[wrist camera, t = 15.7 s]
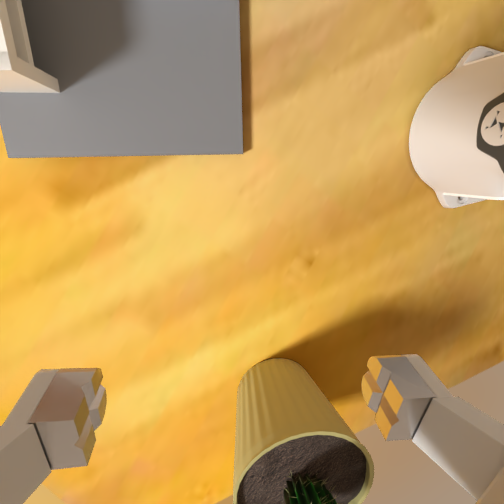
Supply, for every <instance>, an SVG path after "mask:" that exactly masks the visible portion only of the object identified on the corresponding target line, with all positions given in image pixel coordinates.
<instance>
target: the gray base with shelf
mask: <svg viewBox="0 0 504 504" xmlns="http://www.w3.org/2000/svg"><path fill="white" fill-rule="evenodd" d="M0 125H1V129H2V133H3V137H4V141H5V146H6V150H7V154H8V158H41V157H98V156H154V155H211V154H243V128H242V90H241V52H240V14H239V0H0Z"/></svg>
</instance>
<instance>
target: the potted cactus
mask: <svg viewBox="0 0 504 504" xmlns="http://www.w3.org/2000/svg"><path fill="white" fill-rule="evenodd" d="M373 478H374V465H373V461H372V458H371V456H370V454H369V452H368V451H367V450H366V448H365V447H364V446H363V445H362V444H361V443H360V442H359V440H358V439H357V437H356V436H355V435H354V433H353V432H352V431H351V429H350V428H349V427H348V426H347V424H346V423H345V422H344V420H343V419H342V418H341V416H340V415H339V414H338V412H337V411H336V410H335V408H334V407H333V406H332V404H331V403H330V402H329V400H328V399H327V398H326V397H325V395H324V394H323V393H322V391H321V390H320V389H319V387H318V386H317V385H316V383H315V382H314V381H313V379H312V378H311V377H310V375H309V374H308V373H307V371H306V370H305V369H304V368H303V367H302V366H301V365H300V364H298V363H297V362H295V361H292V360H289V359H285V358H273V359H268V360H265V361H262V362H260V363H258V364H256V365H255V366H253V367H252V368H251V369H249V370H248V371H247V372H246V374H245V375H244V376H243V378H242V379H241V381H240V384H239V387H238V391H237V413H236V437H235V461H234V485H233V504H362V503H363V501H364V499H365V498H366V496H367V495H368V493H369V490H370V488H371V486H372V482H373Z"/></svg>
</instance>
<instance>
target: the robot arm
mask: <svg viewBox="0 0 504 504" xmlns="http://www.w3.org/2000/svg"><path fill="white" fill-rule="evenodd" d="M409 151H410V157H411V161H412V164H413V166H414V168H415V170H416V172H417V174H418V175H419V177H420V178H421V179H422V180H423V181H424V182H425V183H426V184H428V185H429V186H430V187H431V188H432V189H433V190H434V191H435V192H436V195H437V197H438V200H439V202H440V203H441V205H442V206H443V207H445V208H456V207H460V206H464V205H468V204H472V203H475V202H479V201H483V200H487V199H492V200H504V52H500V51H497V50H494V49H491V48H488V47H484V46H478V47H474V48H471V49H469V50H468V51H467V52H466V53H465V54H464V56H463V57H462V58H461V60H460V61H459V63H458V64H457V66H456V67H455V69H454V70H453V71H452V72H451V73H449V74H448V75H447V76H445V77H444V78H442V79H441V80H440V81H438V82H437V83H436V84H435V85H434V86H433V87H432V88H431V89H430V90H429V91H428V92H427V94H426V95H425V96H424V98H423V99H422V101H421V102H420V104H419V106H418V108H417V110H416V112H415V115H414V117H413V120H412V124H411V128H410V135H409ZM459 196H460V198H459V199H458V197H459ZM367 367H368V368H369V371H368V372H366V373H365V374H364V375H363V378H362V382H361V386H362V394H363V397H364V400H365V402H366V404H367V406H368V407H369V408H371V409H372V410H373V411H374V412H376V414H375V421H376V423H377V425H378V427H379V429H380V431H381V433H382V435H383V437H384V439H385V441H390V440H409V439H413V440H412V441H413V442H414V443H415V444H416V445H417V446H418V447H419V448H420V449H421V450H422V451H424V452H425V453H426V454H427V455H428V456H429V457H430V458H431V459H432V460H433V461H434V462H436V463H437V464H438V465H439V466H440V467H441V468H442V469H443V470H444V471H445V472H446V473H447V474H449V475H450V476H451V477H452V478H453V479H454V480H455V481H456V482H457V483H458V484H459V485H461V486H462V487H463V488H464V489H465V490H466V491H467V492H468V493H469V494H470V495H472V496H473V497H474V498H475V499H476V500H477V502H476V504H504V424H502V423H501V422H499V421H497V420H496V419H494V418H492V417H491V416H489V415H487V414H486V413H484V412H483V411H481V410H479V409H478V408H476V407H474V406H473V405H471V404H469V403H468V402H466V401H465V400H463V399H461V398H459V397H453V396H452V394H451V393H450V392H449V391H448V389H447V388H446V387H445V386H444V385H443V383H442V382H441V381H440V380H439V378H438V377H437V376H436V375H435V374H434V372H433V371H432V370H431V369H430V367H429V366H428V365H427V364H426V363H425V361H424V360H423V359H422V358H421V357H420V356H419V355H417V354H407V355H386V356H372V357H370V358H369V360H368V363H367ZM102 378H103V375H102V371H101V369H100V368H70V369H41V370H40V371H38V372H37V373H36V374H35V375H34V377H33V378H32V380H31V381H30V383H29V385H28V386H27V388H26V389H25V391H24V392H23V394H22V395H21V397H20V399H19V400H18V402H17V403H16V405H15V406H14V408H13V409H12V411H11V413H10V414H9V416H8V417H7V419H6V420H5V422H4V423H3V425H2V426H0V504H23V503H24V502H25V501H26V500H27V499H28V497H29V496H30V495H31V494H32V493H33V492H34V491H35V489H37V487H38V486H39V485H40V484H41V483H42V482H43V481H44V480H45V479H46V477H47V476H48V475H49V474H50V473H51V470H54V469H63V468H72V467H81V466H87V465H88V462H89V459H90V456H91V453H92V450H93V447H94V444H95V441H96V438H95V433H94V430H95V429H97V428H98V427H99V426H100V425H101V424H102V420H103V417H104V414H105V408H106V390H105V388H104V387H103V386H102V385H100V384H101V381H102Z"/></svg>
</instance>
